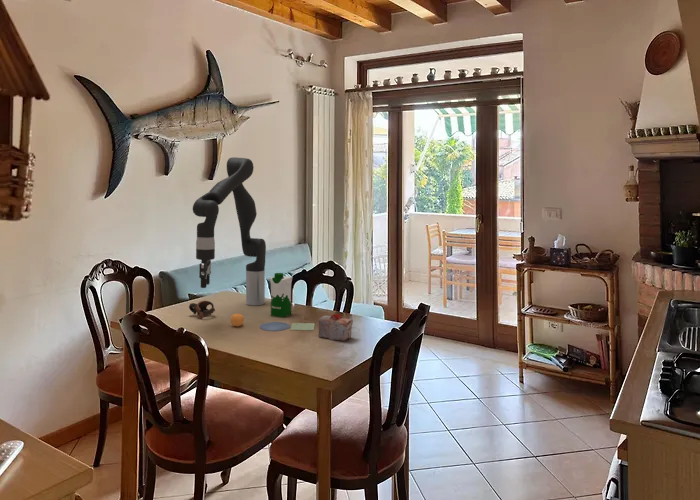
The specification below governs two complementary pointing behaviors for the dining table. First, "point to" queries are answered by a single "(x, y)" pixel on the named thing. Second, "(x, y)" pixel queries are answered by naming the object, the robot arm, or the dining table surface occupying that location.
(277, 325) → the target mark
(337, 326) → the food item
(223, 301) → the dining table surface
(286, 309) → the milk carton
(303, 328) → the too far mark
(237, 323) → the ball
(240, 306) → the dining table surface
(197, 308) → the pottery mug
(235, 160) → the robot arm
